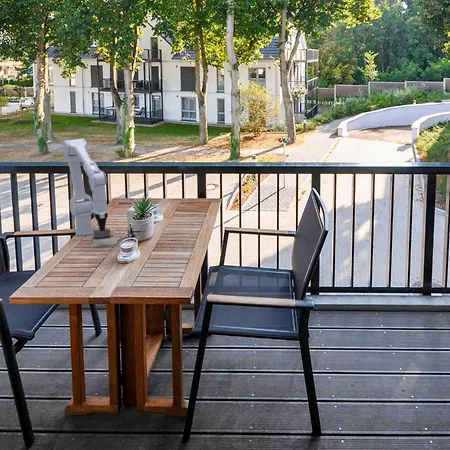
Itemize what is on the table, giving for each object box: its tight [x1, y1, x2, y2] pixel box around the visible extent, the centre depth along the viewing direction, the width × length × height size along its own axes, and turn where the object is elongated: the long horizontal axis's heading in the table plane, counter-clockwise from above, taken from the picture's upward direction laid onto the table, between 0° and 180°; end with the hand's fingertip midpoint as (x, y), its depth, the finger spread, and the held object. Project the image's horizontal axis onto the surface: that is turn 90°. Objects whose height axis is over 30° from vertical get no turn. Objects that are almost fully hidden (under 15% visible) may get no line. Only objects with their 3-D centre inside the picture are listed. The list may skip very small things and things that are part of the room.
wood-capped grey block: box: [93, 228, 111, 239], centre depth 285 cm, size 3×7×5 cm, turn 106°
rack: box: [88, 229, 118, 248], centre depth 288 cm, size 13×11×3 cm
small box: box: [126, 205, 135, 228], centre depth 303 cm, size 8×6×10 cm
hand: (102, 230), depth 284 cm, fingers closed
